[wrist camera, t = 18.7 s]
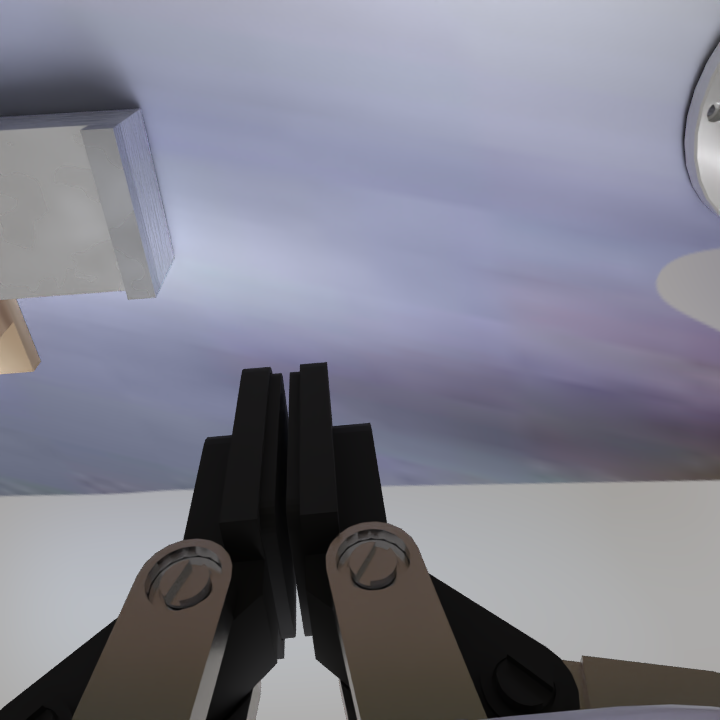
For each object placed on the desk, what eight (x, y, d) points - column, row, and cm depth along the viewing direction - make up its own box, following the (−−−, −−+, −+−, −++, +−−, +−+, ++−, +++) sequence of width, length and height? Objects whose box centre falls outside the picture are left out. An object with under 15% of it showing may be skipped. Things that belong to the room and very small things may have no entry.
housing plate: (140, 108, 26) (112, 128, 22) (174, 258, 29) (156, 297, 25) (-48, 119, 25) (-110, 142, 21) (11, 270, 29) (-33, 312, 25)
